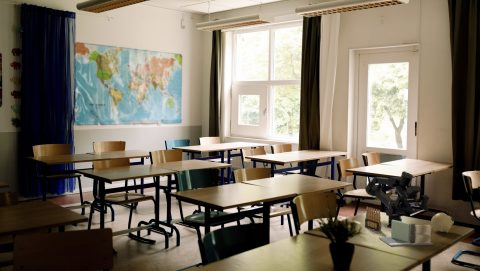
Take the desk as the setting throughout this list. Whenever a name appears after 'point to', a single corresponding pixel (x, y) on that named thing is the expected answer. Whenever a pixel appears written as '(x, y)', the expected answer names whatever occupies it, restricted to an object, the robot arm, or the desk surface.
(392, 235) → the panel
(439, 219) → the cream rounded piece
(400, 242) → the card
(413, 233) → the fixed fence panel
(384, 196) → the robot arm
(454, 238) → the desk surface
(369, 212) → the ammunition clip
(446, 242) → the desk surface
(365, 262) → the desk surface
